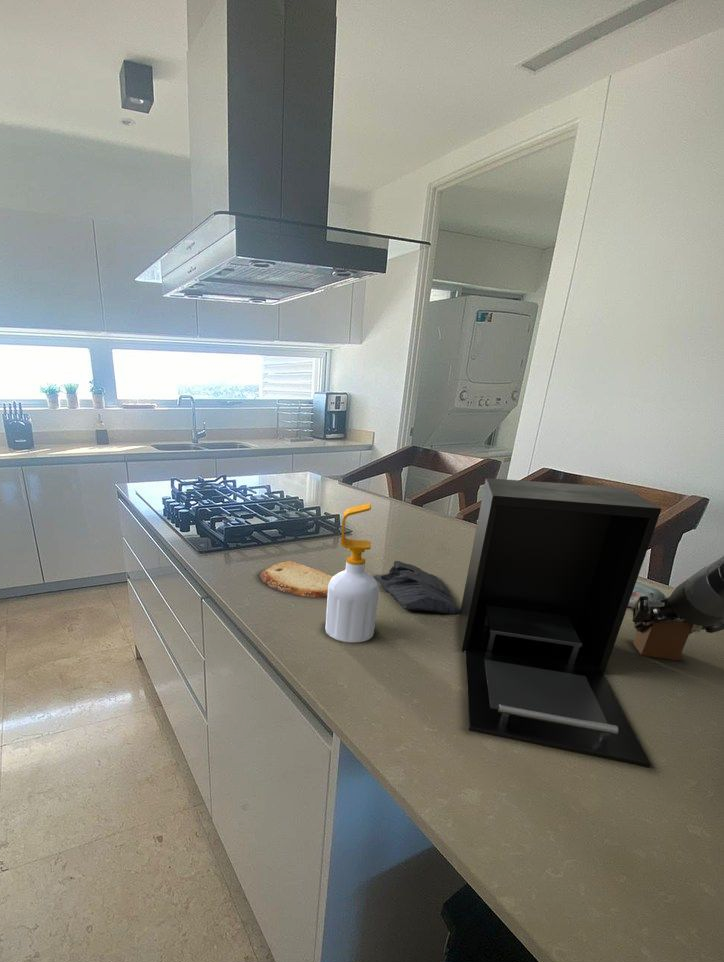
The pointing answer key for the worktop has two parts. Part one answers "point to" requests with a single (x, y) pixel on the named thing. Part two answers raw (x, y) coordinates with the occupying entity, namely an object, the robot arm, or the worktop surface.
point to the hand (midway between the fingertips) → (658, 629)
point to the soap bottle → (352, 592)
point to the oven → (553, 612)
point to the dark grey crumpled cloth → (417, 589)
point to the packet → (663, 640)
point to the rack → (531, 627)
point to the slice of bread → (297, 579)
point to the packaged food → (645, 594)
